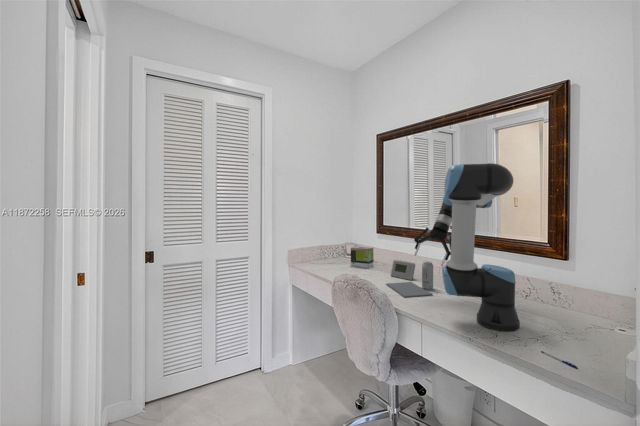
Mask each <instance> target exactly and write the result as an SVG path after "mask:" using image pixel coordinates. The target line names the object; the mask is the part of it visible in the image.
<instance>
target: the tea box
mask: <svg viewBox="0 0 640 426" xmlns="http://www.w3.org/2000/svg"><path fill="white" fill-rule="evenodd" d="M374 258H375V257H374V246H373V247H372V246H359V245H358V246H356V245H355V246H353V247H350V267H353V268H365V269H370V268H373V267H374V266H375V265H374V261H375V259H374Z"/></svg>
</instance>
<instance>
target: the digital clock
mask: <svg viewBox="0 0 640 426" xmlns="http://www.w3.org/2000/svg"><path fill="white" fill-rule="evenodd" d="M415 270H416V263H415V262H411V261H404V260H399V259H398V260H397V259H394V260H393V262H392V267H391V270H390V271H391V272H390V276H391V277H394V278H397V279H402V280H409V281H413V280H414V275H415V274H414V273H415Z"/></svg>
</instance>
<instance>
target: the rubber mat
mask: <svg viewBox="0 0 640 426" xmlns="http://www.w3.org/2000/svg"><path fill="white" fill-rule="evenodd" d="M385 285H386V286H387V287H388V288H390V289H391V290H392V291H395V292H396V293H397V294H399V296H402V297H403V298H405V299H406V298H419V297H420V298H421V297H431V296H432V297H433V295H434V294H433V293H431V292H430V291H429V290H426V289H423V287H422V286H419V285H418V284H416V283H414V282H412V281H405V282H392V283H391V282H390V283H389V282H388V283H387V282H386V283H385Z"/></svg>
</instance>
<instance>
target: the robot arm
mask: <svg viewBox="0 0 640 426" xmlns="http://www.w3.org/2000/svg"><path fill="white" fill-rule="evenodd" d="M513 186H514V176H513V174H512V172H511V171H510V170H509V169H508V168H507V167H505V166H504V165H502V164H498V163H493V162H492V163H469V164H468V163H467V164H463V163H462V164H454V165H451V166H450V167H449V168H447V171H446V175H445V179H444V190H443V191H444V195H443V197H442V203H441V206H440V210H439V213H438V215H437V217H436V220H435V222H434V224H433V227H432V229H429V227H426V228H425V229H424V231H422V232H421V233H420V234H418V235H417V236H416V237H415V238H414V240H413V242H414V243H416V244H415V246H414V249H415V252H414V256H415V257H416V256H417V255H418V253H419V249H420V247H421V244H422V243H424V242H426V241H429V240H434V241H437V242H441V244H442V246H443V248H444V251H445V254H444V257H443V259H442V263H441V265H440V266H441V267H442V269H441V273H442V281H443V286H444V290H445V292H446V294H447V295H449V296H457V297H468V298H469V297H470V298H471V297H472V298H481V301H480V302H481V303H480V306H479V309H478V311H477V313H476V322H477V324H479V325H481V326H483V327H485V328H487V329H491V330H494V331H501V332H516V331H518V330H520V328H521V326H520V325H521V324H520V323H521V321H520V319H519V315H518V313H517V310H516V306H515V305H516V284H517V282H516V274H515V272H514V271H513V270H511V269H509V268H507V267H504V266H500V265H493V264H489V263H488V264H485V263H484V264H482V265H481V268H478V264H477V263H476V262H475V260H474V258H475V240H476V239H475V237H476V219H477V218H476V216H477V209H487V208H488V209H489V208H491V207H492V204H493V200H494V199H496V198H497V197H499V196H502V195H505V194H506V193H508V192H509V191H510V190H511V189H512V187H513ZM450 227H451V230H450V231H451V234H450V235H448V232H449V229H450ZM428 233H429V235H427V234H428ZM425 235H427V236H425ZM424 236H425V237H424ZM445 239H447V240H448V244H449V247H448V244H447V243H446V240H445ZM449 257H450V258H449ZM448 259H449V260H448ZM445 261H446V263H445ZM444 263H445V265H446V266H443V265H444Z"/></svg>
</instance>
